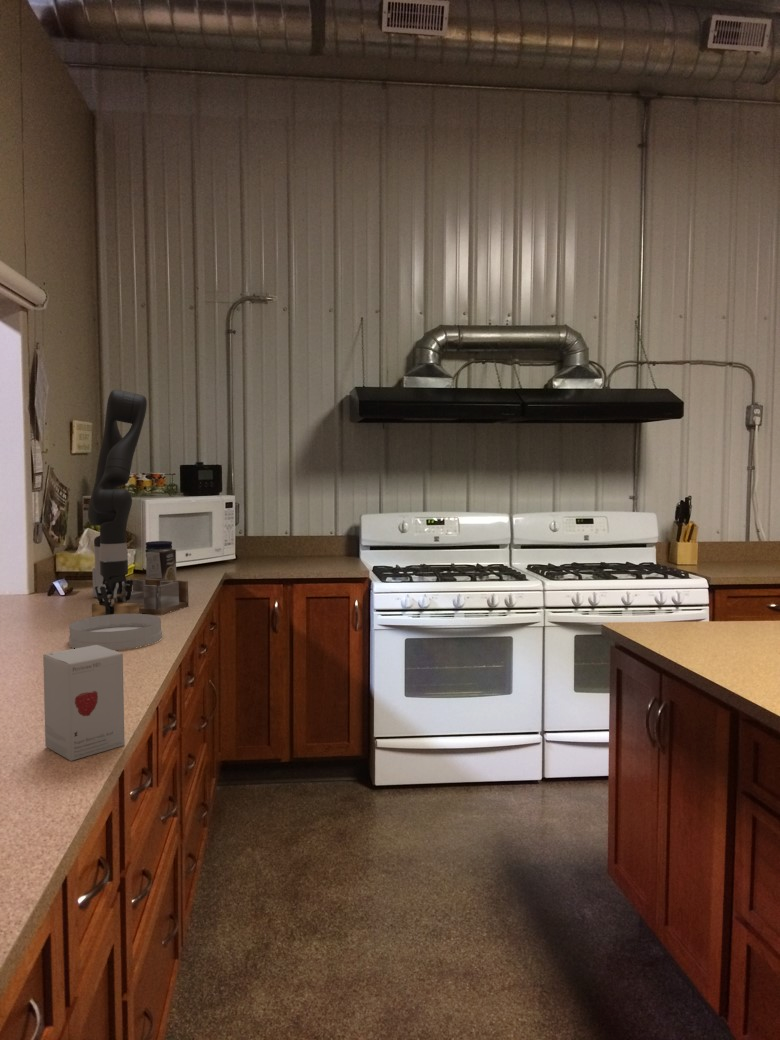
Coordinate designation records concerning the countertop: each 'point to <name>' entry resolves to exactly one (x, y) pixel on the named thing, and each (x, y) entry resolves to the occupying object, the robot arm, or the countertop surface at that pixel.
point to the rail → (115, 608)
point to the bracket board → (158, 595)
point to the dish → (116, 631)
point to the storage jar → (158, 545)
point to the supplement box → (83, 701)
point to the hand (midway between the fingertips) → (115, 617)
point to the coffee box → (161, 564)
